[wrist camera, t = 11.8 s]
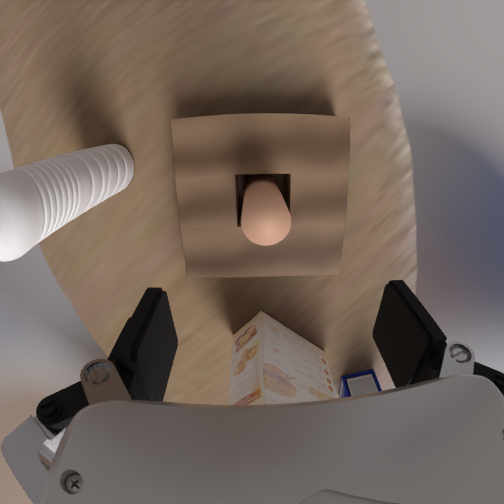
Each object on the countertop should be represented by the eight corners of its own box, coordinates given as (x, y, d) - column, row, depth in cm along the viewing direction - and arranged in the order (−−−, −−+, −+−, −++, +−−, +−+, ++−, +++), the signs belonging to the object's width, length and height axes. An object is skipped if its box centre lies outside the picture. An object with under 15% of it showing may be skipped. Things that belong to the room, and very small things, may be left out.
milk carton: (368, 388, 50) (393, 466, 32) (338, 395, 50) (357, 476, 32) (373, 368, 47) (404, 452, 29) (341, 375, 47) (365, 464, 29)
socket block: (183, 120, 29) (171, 119, 24) (336, 118, 29) (350, 117, 24) (195, 259, 37) (187, 277, 32) (329, 256, 36) (338, 274, 32)
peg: (244, 174, 32) (240, 198, 21) (278, 173, 32) (292, 197, 21) (245, 206, 34) (241, 246, 23) (278, 205, 34) (290, 245, 23)
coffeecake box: (231, 335, 42) (222, 445, 25) (261, 308, 40) (266, 425, 23) (296, 372, 47) (310, 467, 29) (326, 351, 44) (351, 449, 27)
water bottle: (127, 135, 29) (-46, 179, 7) (141, 183, 32) (-7, 288, 10) (76, 160, 30) (-76, 226, 8) (90, 203, 33) (-45, 303, 10)
